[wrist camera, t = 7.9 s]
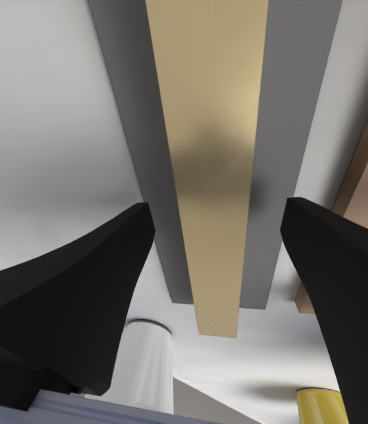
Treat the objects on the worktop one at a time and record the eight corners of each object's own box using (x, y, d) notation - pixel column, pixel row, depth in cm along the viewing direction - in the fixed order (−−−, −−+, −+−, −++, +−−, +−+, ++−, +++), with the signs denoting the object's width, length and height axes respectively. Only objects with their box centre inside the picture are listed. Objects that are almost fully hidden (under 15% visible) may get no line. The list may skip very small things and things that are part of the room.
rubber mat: (263, 305, 17) (265, 309, 17) (173, 299, 18) (172, 302, 18) (404, -285, 4) (422, -320, 4) (57, -133, 5) (47, -147, 5)
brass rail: (232, 301, 17) (236, 338, 14) (200, 299, 17) (198, 334, 15) (258, -159, 5) (311, -447, 2) (151, -119, 5) (95, -311, 3)
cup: (154, 303, 20) (116, 436, 12) (200, 342, 24) (194, 461, 16) (99, 317, 24) (44, 424, 16) (146, 348, 28) (121, 445, 20)
